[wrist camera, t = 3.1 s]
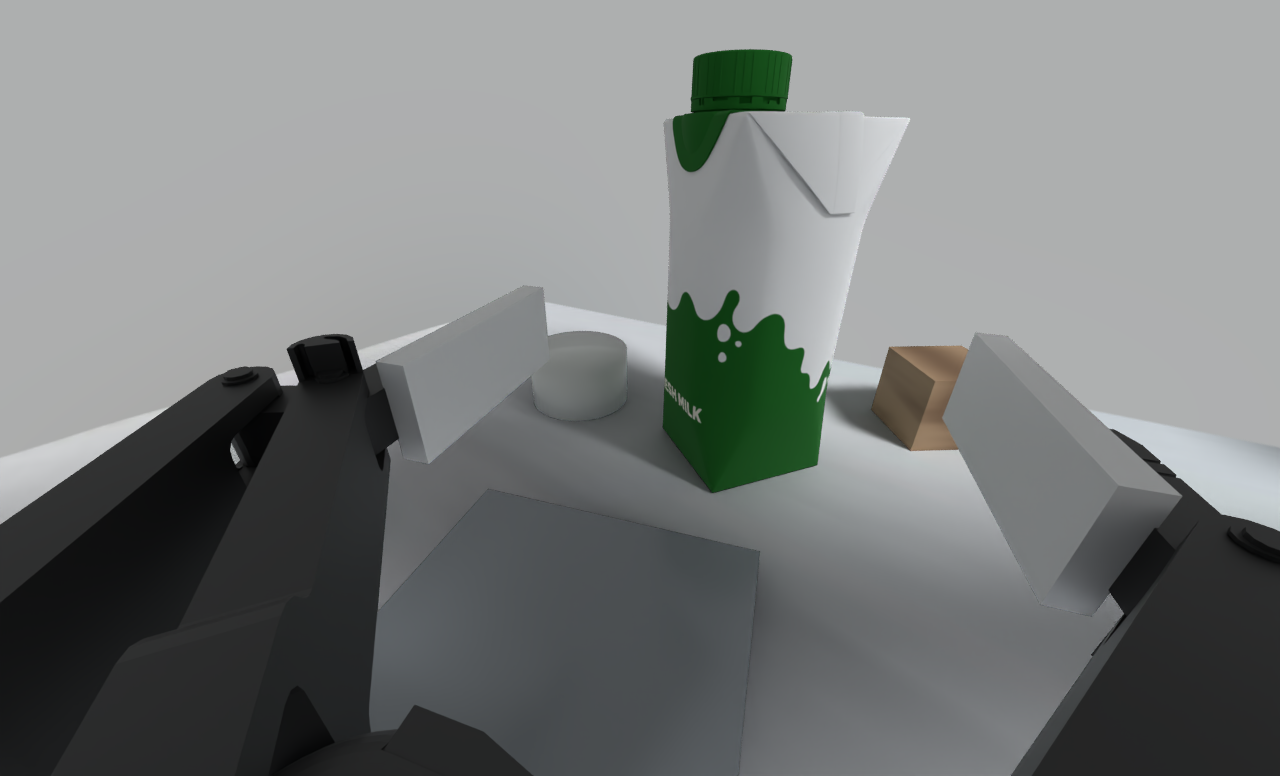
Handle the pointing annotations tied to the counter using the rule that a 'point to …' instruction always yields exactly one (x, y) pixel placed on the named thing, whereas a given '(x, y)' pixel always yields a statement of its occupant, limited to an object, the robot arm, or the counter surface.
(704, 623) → the slate board
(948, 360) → the walnut block
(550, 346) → the white cylinder puck
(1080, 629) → the counter surface
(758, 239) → the soya milk
